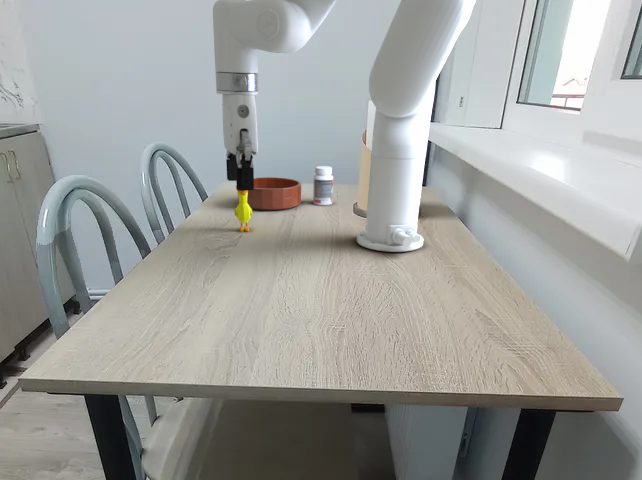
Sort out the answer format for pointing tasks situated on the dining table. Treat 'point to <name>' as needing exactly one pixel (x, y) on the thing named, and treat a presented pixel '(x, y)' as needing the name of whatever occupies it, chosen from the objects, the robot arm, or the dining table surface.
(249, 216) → the toy figure
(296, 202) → the bowl
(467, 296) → the dining table surface
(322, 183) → the pill bottle
